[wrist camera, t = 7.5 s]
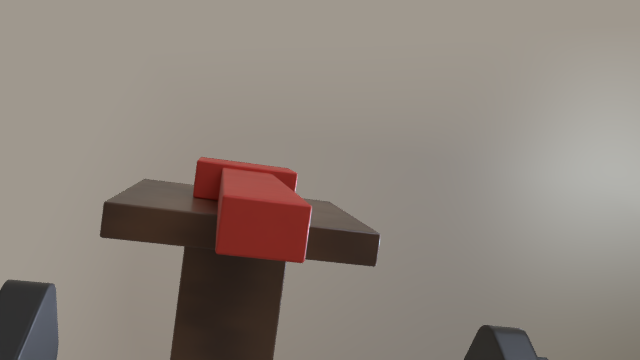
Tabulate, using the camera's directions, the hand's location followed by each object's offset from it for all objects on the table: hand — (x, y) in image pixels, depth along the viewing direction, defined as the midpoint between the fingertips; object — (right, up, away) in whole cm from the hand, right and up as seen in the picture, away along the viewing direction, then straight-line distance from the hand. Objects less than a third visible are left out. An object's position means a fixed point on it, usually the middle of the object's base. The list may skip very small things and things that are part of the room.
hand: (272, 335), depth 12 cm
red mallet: (-2, +1, +13) cm, 13 cm away
